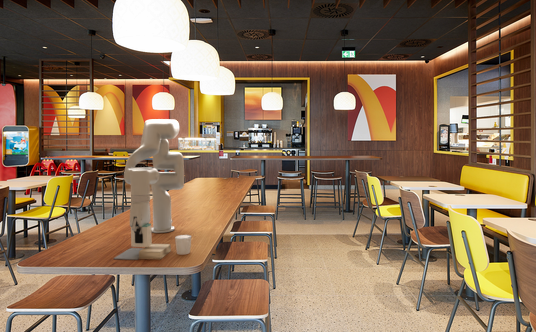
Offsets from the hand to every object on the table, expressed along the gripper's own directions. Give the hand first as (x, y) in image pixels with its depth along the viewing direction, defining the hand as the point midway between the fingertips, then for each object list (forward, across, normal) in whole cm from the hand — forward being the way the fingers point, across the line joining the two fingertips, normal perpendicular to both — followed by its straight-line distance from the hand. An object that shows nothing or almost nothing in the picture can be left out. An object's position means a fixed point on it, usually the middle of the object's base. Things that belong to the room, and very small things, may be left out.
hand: (141, 241), depth 142 cm
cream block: (+2, 0, 0) cm, 2 cm away
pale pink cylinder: (+6, -4, +17) cm, 18 cm away
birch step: (+6, 0, +6) cm, 8 cm away
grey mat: (+6, 0, -4) cm, 7 cm away
